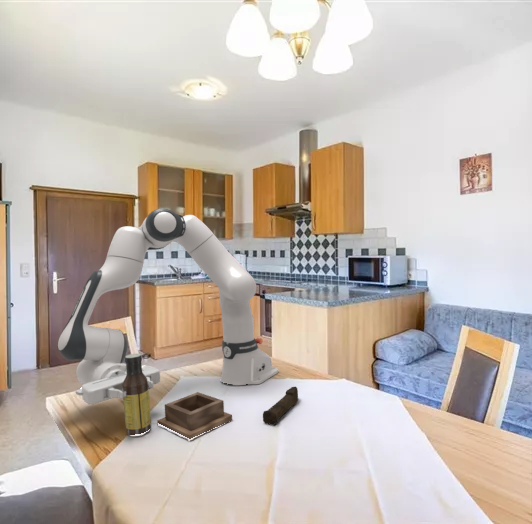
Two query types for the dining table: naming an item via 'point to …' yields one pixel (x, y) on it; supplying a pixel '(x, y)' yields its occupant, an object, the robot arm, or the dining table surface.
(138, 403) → the sauce bottle
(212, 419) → the socket holder
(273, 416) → the hand tool
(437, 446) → the dining table surface
